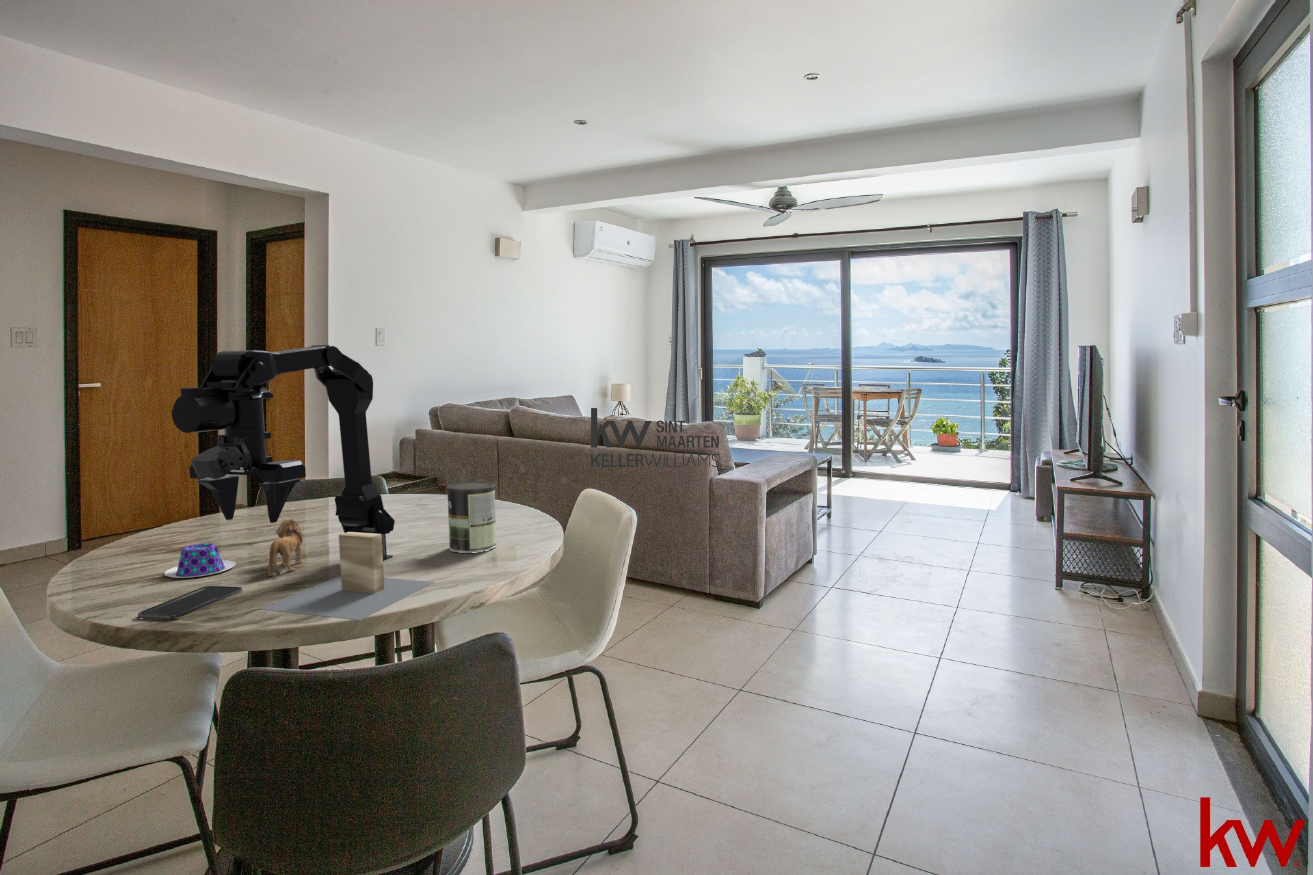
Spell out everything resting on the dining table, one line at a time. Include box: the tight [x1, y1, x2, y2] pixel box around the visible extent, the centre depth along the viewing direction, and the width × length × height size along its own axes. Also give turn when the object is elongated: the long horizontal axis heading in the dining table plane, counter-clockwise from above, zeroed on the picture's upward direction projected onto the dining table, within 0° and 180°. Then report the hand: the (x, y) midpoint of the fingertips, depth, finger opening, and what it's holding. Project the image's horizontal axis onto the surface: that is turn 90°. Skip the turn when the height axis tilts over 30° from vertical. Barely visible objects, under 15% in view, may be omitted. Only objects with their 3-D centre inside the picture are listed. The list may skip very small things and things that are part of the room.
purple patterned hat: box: [163, 542, 236, 579], centre depth 140 cm, size 12×12×5 cm
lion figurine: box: [267, 518, 304, 577], centre depth 141 cm, size 15×5×9 cm, turn 19°
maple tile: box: [338, 532, 385, 593], centre depth 125 cm, size 2×7×10 cm, turn 73°
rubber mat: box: [258, 575, 435, 621], centre depth 123 cm, size 20×20×1 cm
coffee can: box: [446, 480, 497, 554], centre depth 154 cm, size 10×10×14 cm
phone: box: [137, 585, 243, 622], centre depth 120 cm, size 8×1×15 cm
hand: (251, 521), depth 117 cm, fingers open, 9 cm apart
